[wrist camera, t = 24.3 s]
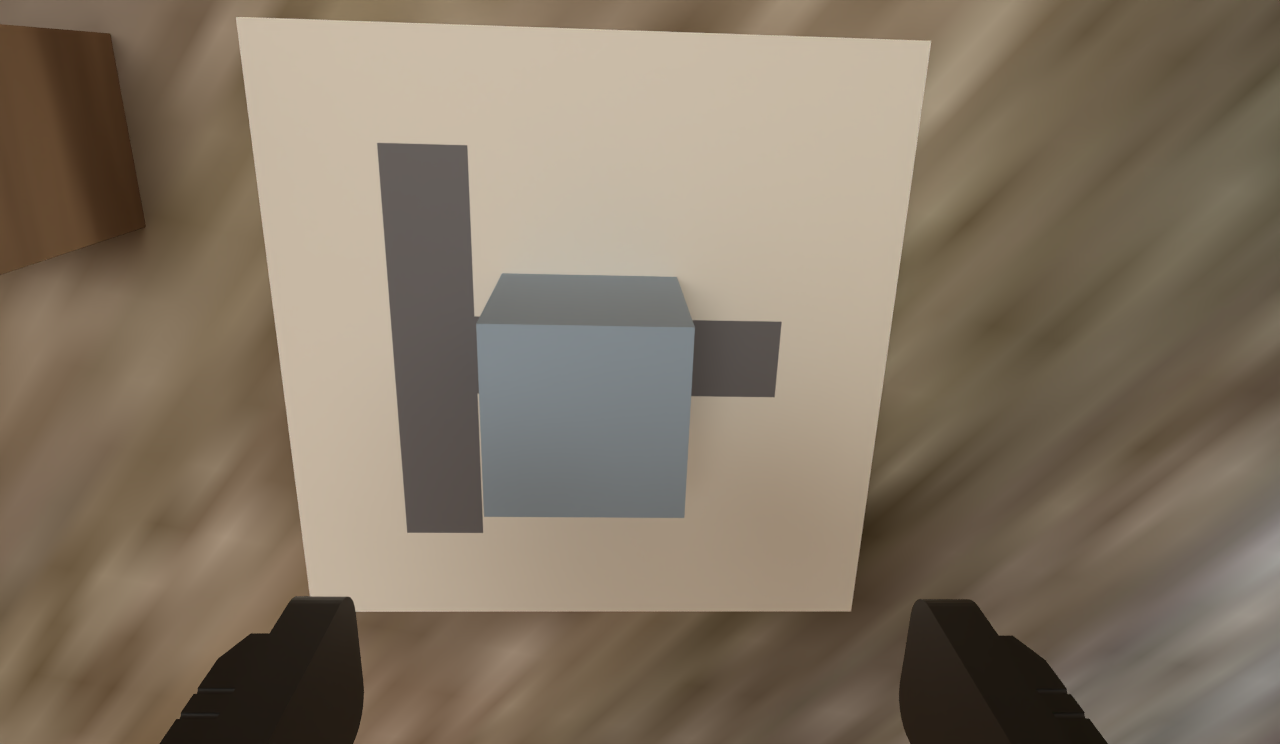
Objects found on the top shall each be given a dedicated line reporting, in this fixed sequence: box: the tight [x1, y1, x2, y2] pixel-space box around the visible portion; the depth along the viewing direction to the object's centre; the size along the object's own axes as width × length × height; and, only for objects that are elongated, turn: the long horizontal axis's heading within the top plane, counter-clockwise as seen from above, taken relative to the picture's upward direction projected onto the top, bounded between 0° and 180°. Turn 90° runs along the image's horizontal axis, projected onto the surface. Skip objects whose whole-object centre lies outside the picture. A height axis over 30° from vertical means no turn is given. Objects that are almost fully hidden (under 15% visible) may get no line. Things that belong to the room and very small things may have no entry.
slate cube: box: [476, 273, 695, 518], centre depth 22 cm, size 5×5×5 cm
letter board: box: [236, 17, 931, 612], centre depth 24 cm, size 18×18×1 cm
